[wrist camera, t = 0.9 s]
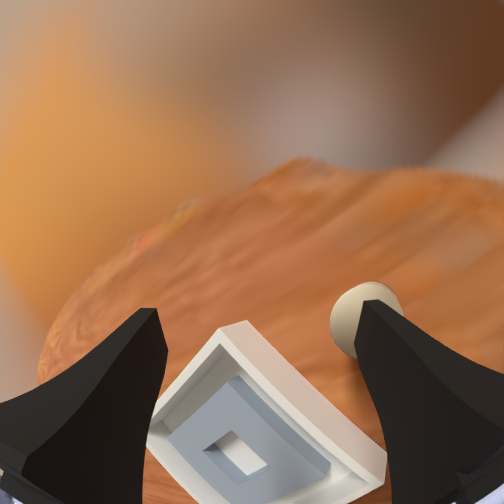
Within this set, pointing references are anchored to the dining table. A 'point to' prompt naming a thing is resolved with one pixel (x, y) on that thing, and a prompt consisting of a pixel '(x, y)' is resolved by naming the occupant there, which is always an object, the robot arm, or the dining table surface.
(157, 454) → the tray
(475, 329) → the dining table surface
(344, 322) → the peg
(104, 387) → the robot arm
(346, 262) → the dining table surface
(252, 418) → the bore plate
